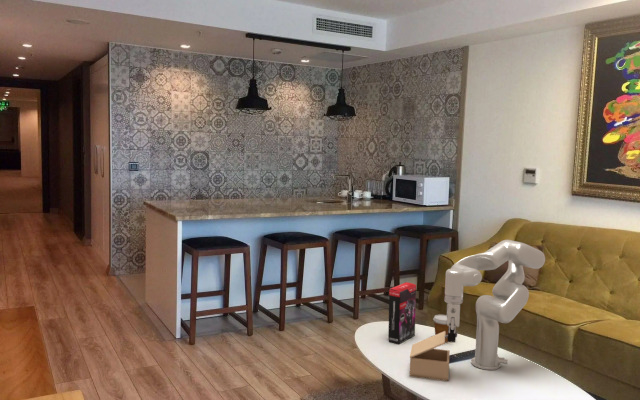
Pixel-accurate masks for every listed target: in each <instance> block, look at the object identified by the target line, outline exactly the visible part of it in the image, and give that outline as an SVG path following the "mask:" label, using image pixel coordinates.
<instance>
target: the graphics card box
mask: <svg viewBox="0 0 640 400" xmlns="http://www.w3.org/2000/svg"><path fill="white" fill-rule="evenodd" d="M388 291H389V293H388V296H389V298H388V336H387V337H388V339H387V340H388V342H389V343H392V344H396V345H400V344H402V343H404V342H406V341H407V340H408V339H411V338H412V337H414V336H415V335H416V308H417V307H416V305H417V304H416V303H417V301H416V300H417V284H415V283H412V282H407V281H405V282H403V283H401V284H398V285H396V286H393V287H390V288H389V290H388Z"/></svg>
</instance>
